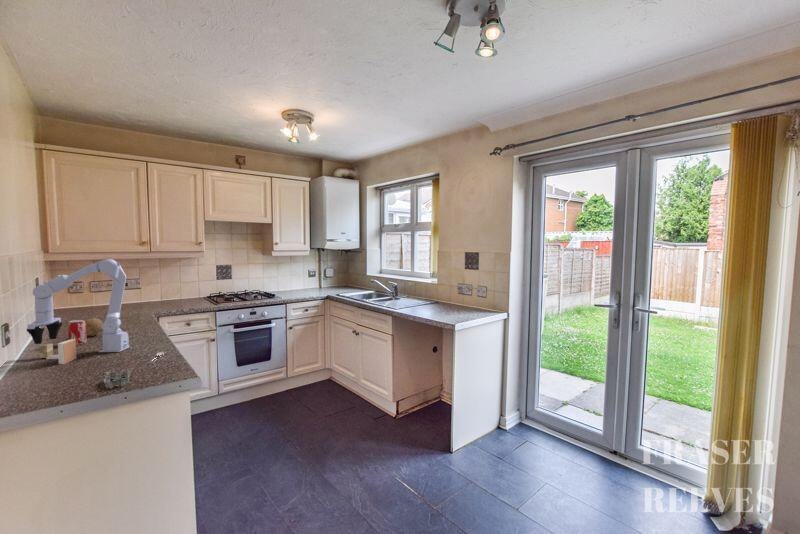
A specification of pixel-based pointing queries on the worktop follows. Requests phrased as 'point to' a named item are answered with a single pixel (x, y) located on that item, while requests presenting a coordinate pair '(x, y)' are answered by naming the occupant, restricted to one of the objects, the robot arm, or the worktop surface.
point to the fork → (158, 354)
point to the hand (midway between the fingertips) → (45, 341)
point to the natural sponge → (93, 326)
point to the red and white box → (77, 331)
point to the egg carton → (116, 378)
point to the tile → (67, 351)
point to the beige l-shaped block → (47, 351)
